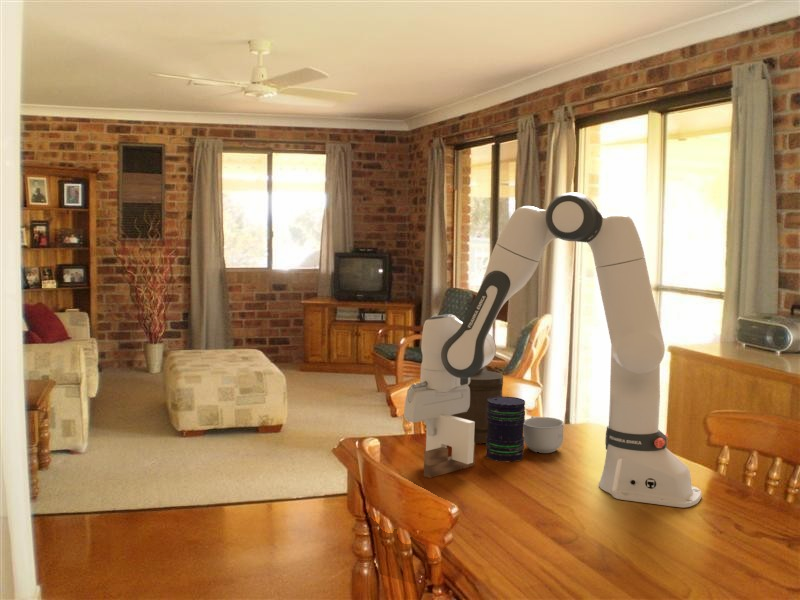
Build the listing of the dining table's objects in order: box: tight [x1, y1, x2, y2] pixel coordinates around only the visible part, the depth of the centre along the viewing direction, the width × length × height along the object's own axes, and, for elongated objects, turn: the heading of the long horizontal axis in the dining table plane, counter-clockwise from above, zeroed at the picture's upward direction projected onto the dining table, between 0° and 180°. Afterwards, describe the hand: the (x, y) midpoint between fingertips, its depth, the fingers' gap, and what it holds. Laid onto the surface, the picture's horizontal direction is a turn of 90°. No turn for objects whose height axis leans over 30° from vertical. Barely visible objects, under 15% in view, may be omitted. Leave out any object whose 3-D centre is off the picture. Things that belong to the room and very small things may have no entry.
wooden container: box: [451, 367, 504, 445], centre depth 232 cm, size 15×15×22 cm
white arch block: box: [425, 414, 475, 464], centre depth 200 cm, size 14×2×10 cm, turn 43°
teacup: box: [523, 415, 565, 454], centre depth 222 cm, size 14×11×8 cm
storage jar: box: [485, 395, 526, 462], centre depth 213 cm, size 10×10×15 cm
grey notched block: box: [423, 442, 476, 479], centre depth 201 cm, size 16×2×6 cm, turn 133°
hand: (436, 434), depth 204 cm, fingers closed on white arch block, 2 cm apart
